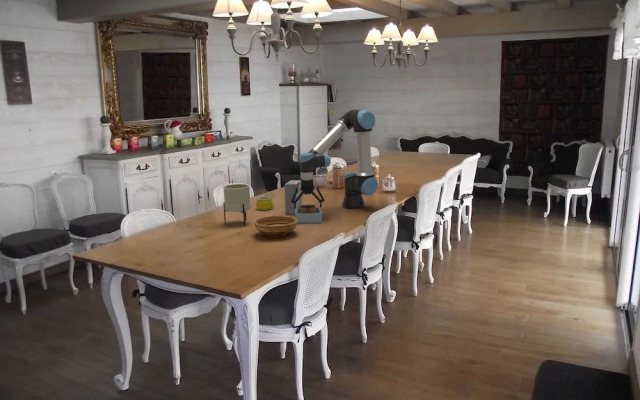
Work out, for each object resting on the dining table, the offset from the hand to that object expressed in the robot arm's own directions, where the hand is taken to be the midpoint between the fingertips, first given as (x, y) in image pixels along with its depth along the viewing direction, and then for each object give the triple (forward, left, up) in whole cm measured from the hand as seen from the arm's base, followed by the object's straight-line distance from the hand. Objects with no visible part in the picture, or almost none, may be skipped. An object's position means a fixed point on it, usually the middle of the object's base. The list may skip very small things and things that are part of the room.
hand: (308, 213), depth 326 cm
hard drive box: (+9, -23, -5) cm, 25 cm away
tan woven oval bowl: (+18, +29, -5) cm, 35 cm away
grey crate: (0, 0, -4) cm, 4 cm away
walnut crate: (0, 0, -4) cm, 4 cm away
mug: (+28, -34, -5) cm, 44 cm away
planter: (+42, +2, -4) cm, 42 cm away
